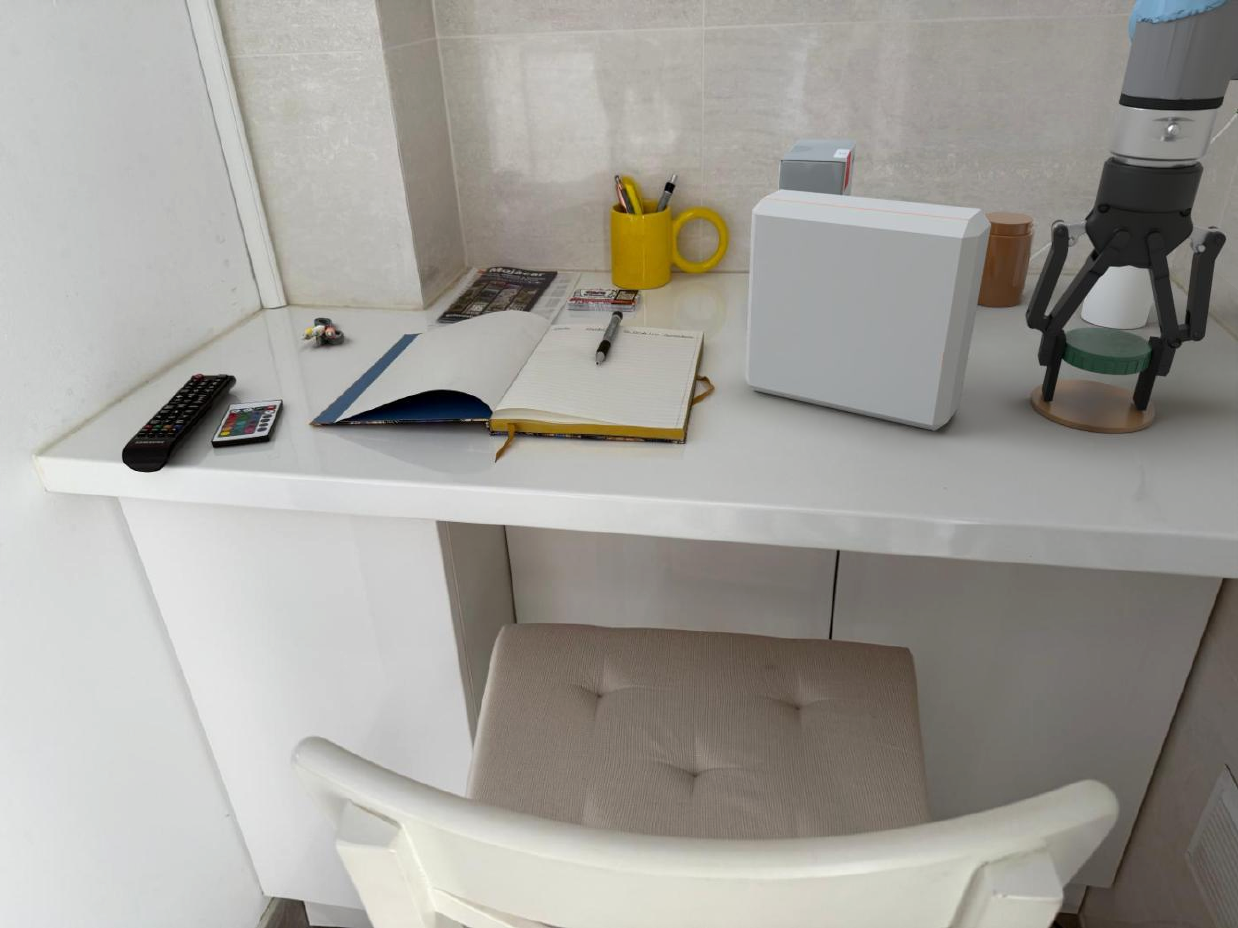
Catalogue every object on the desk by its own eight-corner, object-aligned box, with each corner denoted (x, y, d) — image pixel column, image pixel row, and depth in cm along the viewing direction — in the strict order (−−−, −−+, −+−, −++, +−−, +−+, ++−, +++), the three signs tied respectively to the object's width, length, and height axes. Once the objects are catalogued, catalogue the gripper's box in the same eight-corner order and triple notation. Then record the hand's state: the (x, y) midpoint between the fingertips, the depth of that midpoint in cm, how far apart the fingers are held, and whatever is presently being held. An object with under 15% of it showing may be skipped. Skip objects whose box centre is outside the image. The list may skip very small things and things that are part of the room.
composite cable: (314, 324, 115) (310, 306, 114) (351, 321, 116) (348, 303, 115) (303, 352, 107) (299, 333, 106) (343, 348, 107) (339, 329, 106)
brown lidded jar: (1019, 291, 117) (1035, 212, 112) (1023, 309, 111) (1039, 226, 106) (964, 288, 119) (977, 210, 114) (964, 305, 113) (978, 223, 108)
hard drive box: (830, 330, 107) (845, 161, 97) (767, 325, 109) (776, 159, 99) (842, 291, 120) (857, 137, 110) (786, 287, 122) (795, 136, 112)
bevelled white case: (964, 406, 88) (1000, 204, 78) (941, 439, 82) (977, 225, 72) (771, 366, 98) (781, 183, 88) (738, 393, 92) (746, 200, 82)
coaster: (1143, 390, 90) (1144, 385, 89) (1164, 439, 80) (1166, 433, 80) (1026, 380, 93) (1027, 374, 92) (1034, 425, 84) (1035, 420, 83)
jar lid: (1062, 371, 82) (1067, 353, 81) (1055, 341, 88) (1059, 324, 87) (1155, 379, 80) (1160, 360, 79) (1140, 348, 86) (1145, 330, 85)
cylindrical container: (1078, 323, 106) (1132, 102, 94) (1083, 305, 112) (1135, 94, 99) (1144, 332, 103) (1209, 105, 91) (1147, 313, 108) (1208, 96, 96)
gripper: (1028, 163, 75) (982, 404, 86) (1309, 170, 69) (1220, 428, 80) (1023, 147, 81) (980, 374, 92) (1280, 153, 75) (1201, 395, 86)
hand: (1092, 399), depth 86 cm, fingers closed on jar lid, 7 cm apart
